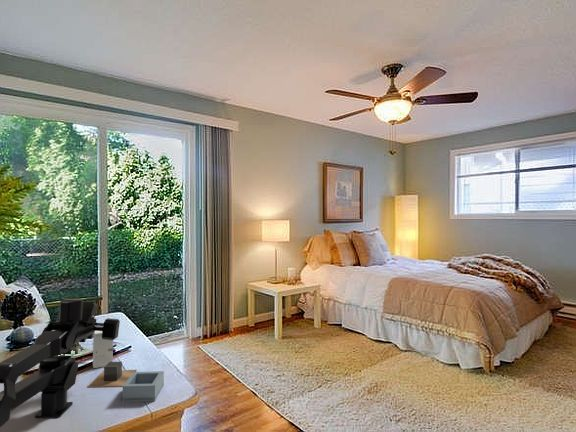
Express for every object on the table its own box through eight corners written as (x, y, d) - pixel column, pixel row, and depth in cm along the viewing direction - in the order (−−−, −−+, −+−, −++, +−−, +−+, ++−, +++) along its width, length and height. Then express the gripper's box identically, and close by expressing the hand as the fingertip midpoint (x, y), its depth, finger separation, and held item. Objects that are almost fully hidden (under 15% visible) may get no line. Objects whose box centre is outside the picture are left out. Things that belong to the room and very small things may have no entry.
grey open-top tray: (154, 401, 100) (155, 385, 100) (122, 402, 99) (122, 386, 99) (163, 385, 109) (163, 371, 109) (134, 386, 108) (134, 371, 108)
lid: (124, 388, 108) (124, 371, 108) (87, 389, 107) (87, 372, 107) (136, 372, 119) (136, 356, 119) (103, 373, 118) (103, 357, 118)
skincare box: (93, 369, 120) (93, 333, 119) (92, 364, 123) (92, 330, 123) (113, 364, 123) (113, 330, 123) (111, 360, 127) (112, 327, 127)
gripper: (110, 308, 105) (131, 300, 121) (47, 303, 104) (76, 295, 120) (105, 346, 104) (126, 333, 120) (41, 341, 103) (71, 328, 119)
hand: (100, 321), depth 119 cm, fingers open, 9 cm apart
